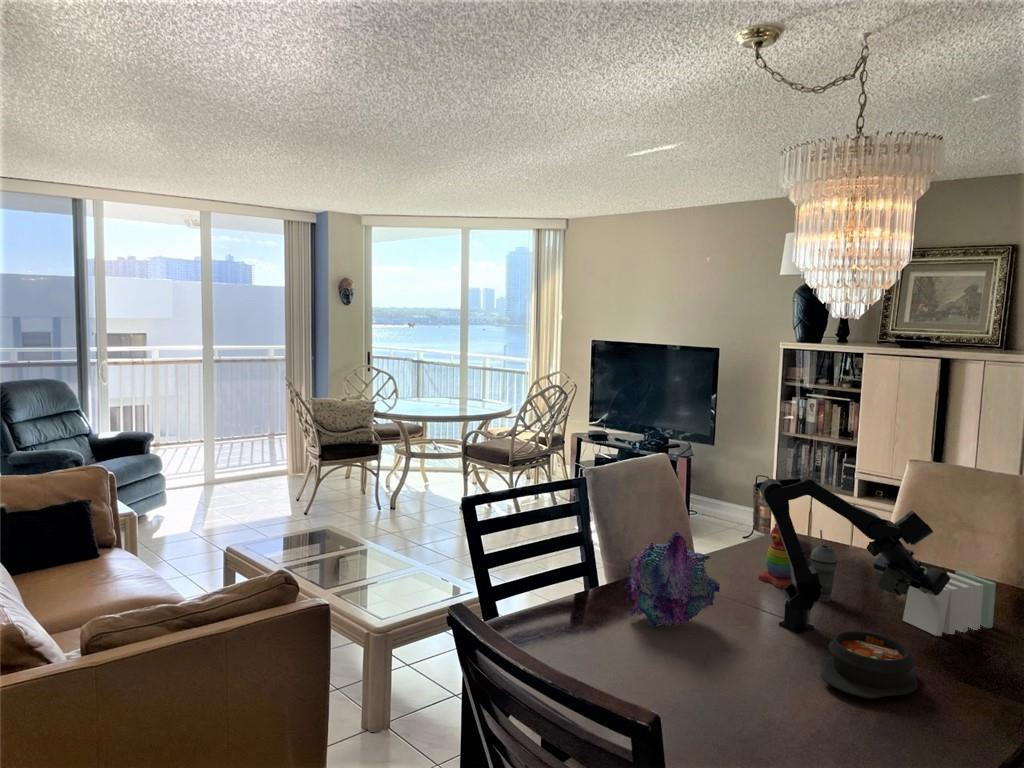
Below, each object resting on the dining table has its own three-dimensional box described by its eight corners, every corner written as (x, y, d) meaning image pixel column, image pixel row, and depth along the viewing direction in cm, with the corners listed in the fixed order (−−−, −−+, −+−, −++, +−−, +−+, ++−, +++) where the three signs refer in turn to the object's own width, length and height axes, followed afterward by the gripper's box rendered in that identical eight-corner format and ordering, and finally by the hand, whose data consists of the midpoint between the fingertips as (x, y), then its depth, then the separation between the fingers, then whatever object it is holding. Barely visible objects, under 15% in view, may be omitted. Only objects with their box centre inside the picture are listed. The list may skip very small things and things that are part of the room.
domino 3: (961, 632, 182) (965, 587, 181) (927, 617, 191) (930, 574, 190) (967, 631, 183) (970, 586, 182) (933, 616, 192) (936, 573, 191)
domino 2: (948, 634, 180) (952, 589, 180) (915, 619, 190) (918, 576, 189) (954, 633, 181) (957, 588, 180) (920, 618, 191) (923, 575, 190)
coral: (609, 628, 180) (612, 532, 178) (635, 600, 199) (638, 513, 197) (708, 650, 169) (713, 548, 167) (726, 618, 188) (730, 526, 186)
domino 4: (974, 630, 183) (977, 585, 182) (940, 615, 193) (943, 572, 192) (980, 629, 184) (983, 585, 183) (945, 614, 193) (948, 572, 193)
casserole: (854, 651, 170) (856, 617, 170) (938, 682, 156) (941, 645, 155) (798, 681, 155) (800, 644, 154) (886, 718, 140) (888, 678, 140)
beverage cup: (832, 605, 198) (835, 536, 197) (804, 599, 203) (808, 531, 201) (838, 598, 204) (841, 530, 203) (811, 592, 208) (815, 525, 207)
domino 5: (987, 628, 185) (990, 584, 184) (952, 613, 194) (955, 571, 193) (992, 627, 186) (995, 583, 185) (957, 613, 195) (960, 570, 194)
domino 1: (935, 635, 179) (944, 589, 179) (902, 620, 188) (910, 576, 188) (941, 636, 180) (950, 590, 179) (908, 620, 189) (916, 576, 189)
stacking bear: (755, 578, 220) (757, 522, 218) (779, 573, 224) (782, 518, 223) (781, 589, 210) (784, 531, 209) (806, 585, 214) (809, 527, 213)
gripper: (848, 566, 186) (878, 602, 190) (908, 591, 168) (940, 630, 173) (873, 534, 188) (902, 571, 192) (935, 556, 170) (966, 595, 175)
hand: (925, 591), depth 183 cm, fingers closed
